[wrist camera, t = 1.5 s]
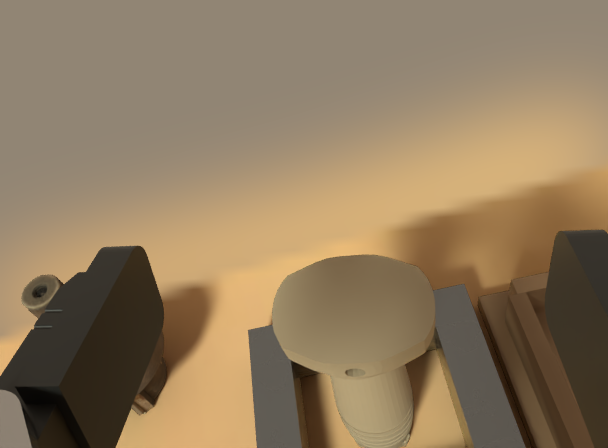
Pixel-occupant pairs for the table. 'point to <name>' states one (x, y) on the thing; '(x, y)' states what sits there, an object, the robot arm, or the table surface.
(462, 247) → the table surface
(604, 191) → the table surface
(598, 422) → the robot arm
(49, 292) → the industrial component
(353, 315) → the handle
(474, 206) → the table surface
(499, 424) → the socket block
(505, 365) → the tray
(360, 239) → the table surface
